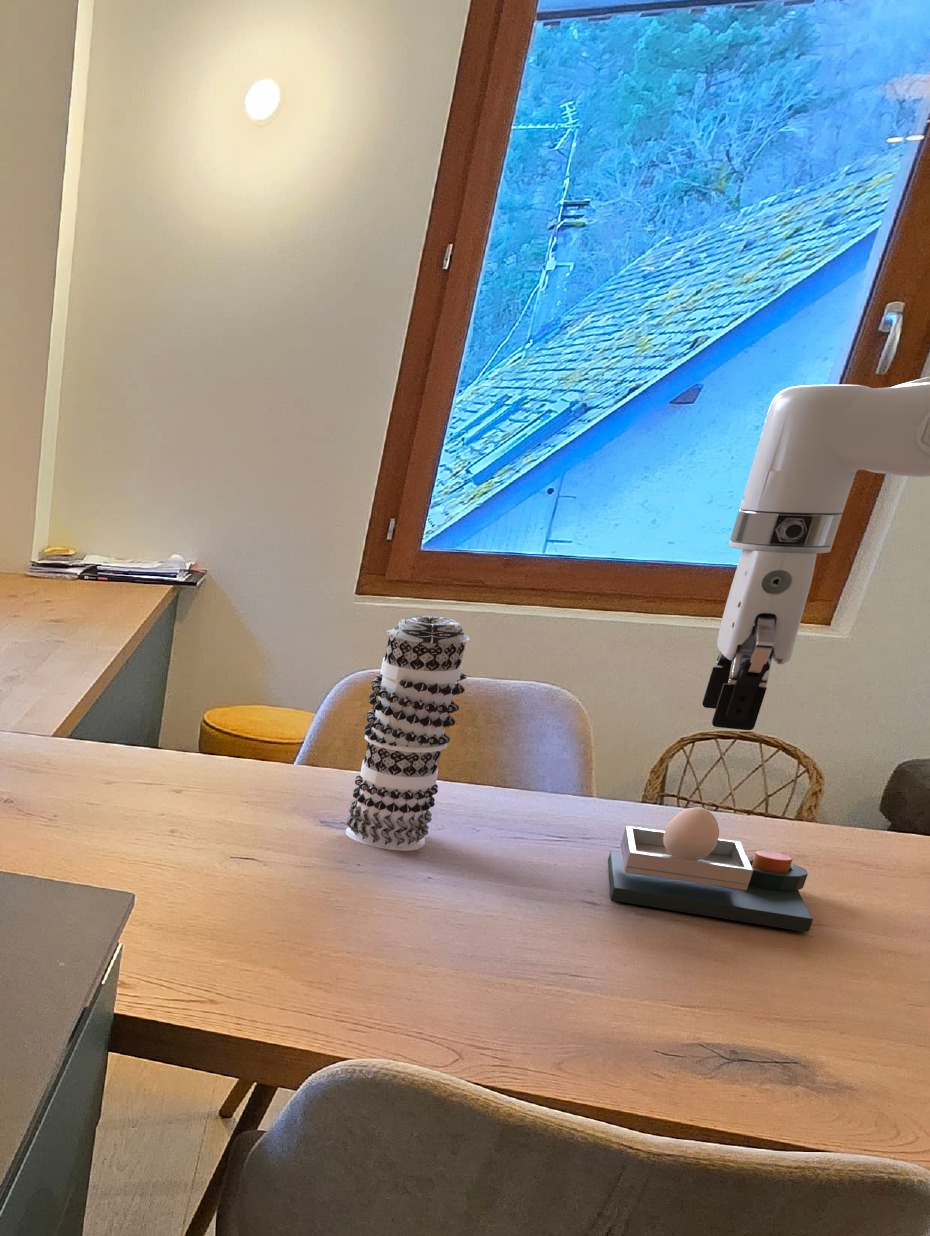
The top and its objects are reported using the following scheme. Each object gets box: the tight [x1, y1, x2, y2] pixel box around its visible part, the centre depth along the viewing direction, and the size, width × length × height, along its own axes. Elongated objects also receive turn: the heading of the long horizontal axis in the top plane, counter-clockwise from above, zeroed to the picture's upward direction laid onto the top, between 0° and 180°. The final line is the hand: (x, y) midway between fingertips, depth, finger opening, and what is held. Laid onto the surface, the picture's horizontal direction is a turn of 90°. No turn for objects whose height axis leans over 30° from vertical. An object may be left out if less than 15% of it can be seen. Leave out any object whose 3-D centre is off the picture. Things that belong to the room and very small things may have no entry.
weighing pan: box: [620, 825, 753, 890], centre depth 121 cm, size 10×10×2 cm
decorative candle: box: [345, 615, 471, 852], centre depth 132 cm, size 9×9×25 cm
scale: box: [607, 851, 814, 933], centre depth 122 cm, size 16×14×3 cm
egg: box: [663, 806, 720, 861], centre depth 120 cm, size 4×4×6 cm
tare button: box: [752, 850, 794, 872], centre depth 122 cm, size 3×3×2 cm
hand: (726, 718), depth 115 cm, fingers open, 9 cm apart
